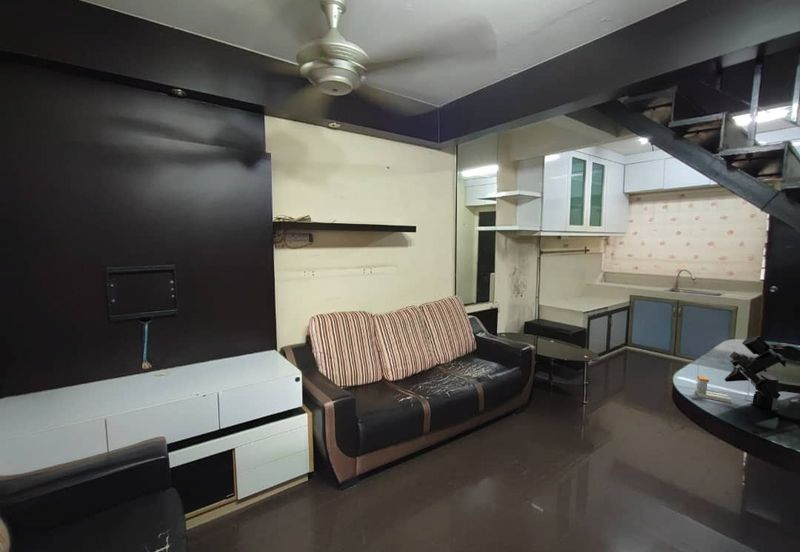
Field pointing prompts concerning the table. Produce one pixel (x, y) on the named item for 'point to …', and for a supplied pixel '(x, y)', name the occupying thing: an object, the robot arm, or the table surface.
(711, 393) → the block
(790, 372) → the table surface
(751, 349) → the robot arm
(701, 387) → the handle
